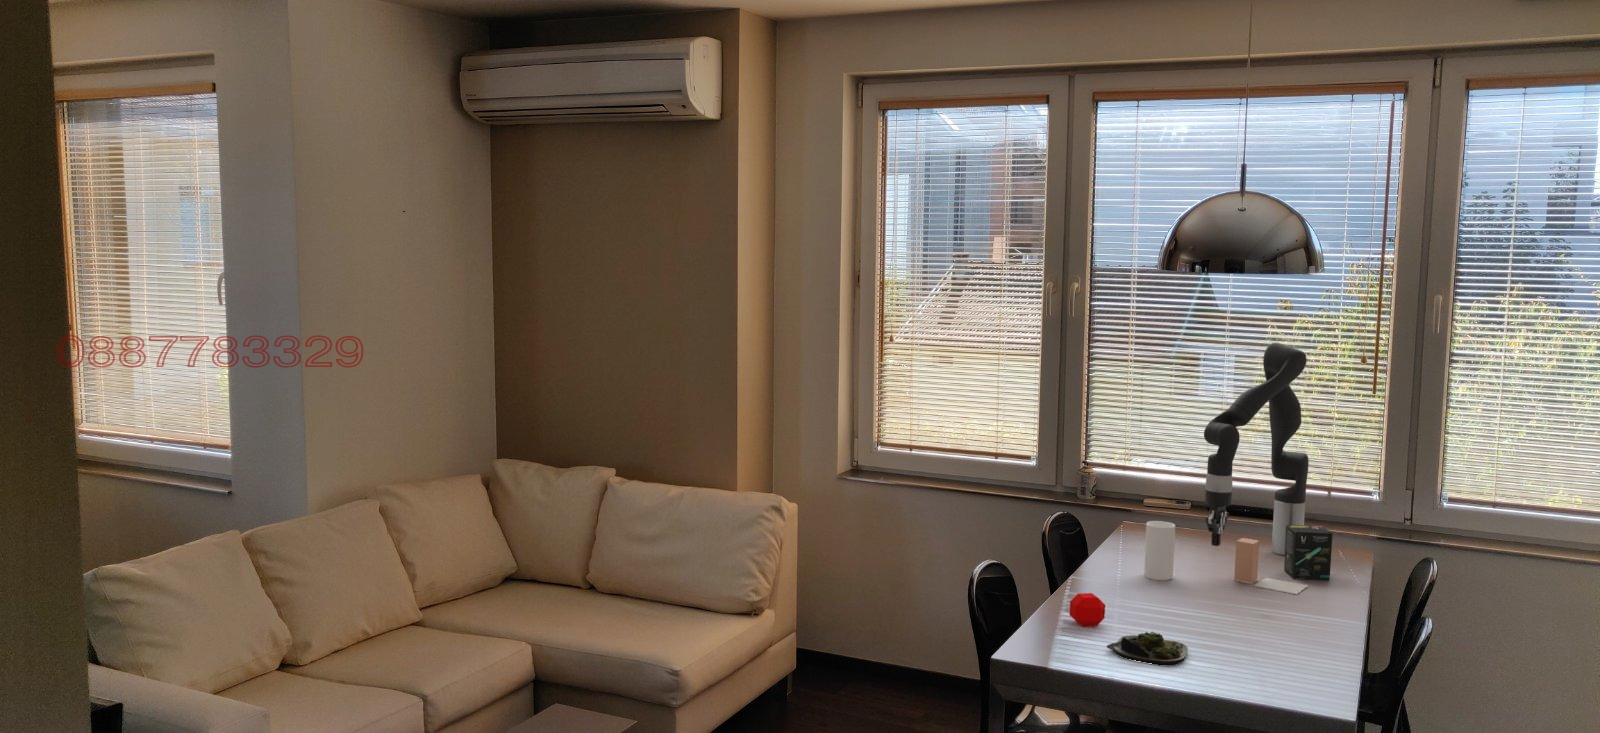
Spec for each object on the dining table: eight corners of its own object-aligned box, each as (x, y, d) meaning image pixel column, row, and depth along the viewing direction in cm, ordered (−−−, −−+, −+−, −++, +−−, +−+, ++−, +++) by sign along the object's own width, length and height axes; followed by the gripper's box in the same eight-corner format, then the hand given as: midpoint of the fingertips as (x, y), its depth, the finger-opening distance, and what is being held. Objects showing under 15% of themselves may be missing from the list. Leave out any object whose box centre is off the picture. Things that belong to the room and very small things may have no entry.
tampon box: (1319, 572, 347) (1322, 525, 346) (1330, 580, 338) (1333, 532, 337) (1282, 570, 348) (1285, 524, 347) (1292, 579, 339) (1295, 531, 338)
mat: (1266, 578, 339) (1266, 577, 339) (1308, 586, 331) (1308, 585, 331) (1253, 586, 331) (1253, 585, 331) (1296, 594, 323) (1296, 593, 323)
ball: (1107, 628, 291) (1109, 599, 290) (1078, 629, 290) (1079, 600, 289) (1094, 618, 299) (1095, 590, 298) (1066, 619, 298) (1067, 591, 297)
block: (1240, 577, 341) (1242, 537, 339) (1257, 580, 337) (1259, 540, 336) (1234, 580, 337) (1236, 540, 336) (1251, 583, 334) (1253, 543, 332)
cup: (1142, 578, 338) (1145, 525, 336) (1145, 571, 345) (1147, 519, 344) (1171, 581, 334) (1174, 528, 333) (1173, 574, 342) (1176, 522, 340)
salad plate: (1121, 634, 288) (1121, 616, 288) (1194, 646, 280) (1195, 628, 279) (1102, 657, 271) (1103, 638, 271) (1180, 671, 263) (1180, 651, 262)
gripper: (1223, 494, 333) (1220, 551, 335) (1239, 487, 343) (1236, 543, 345) (1197, 490, 338) (1195, 547, 340) (1214, 483, 348) (1211, 539, 350)
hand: (1215, 545), depth 342 cm, fingers closed
